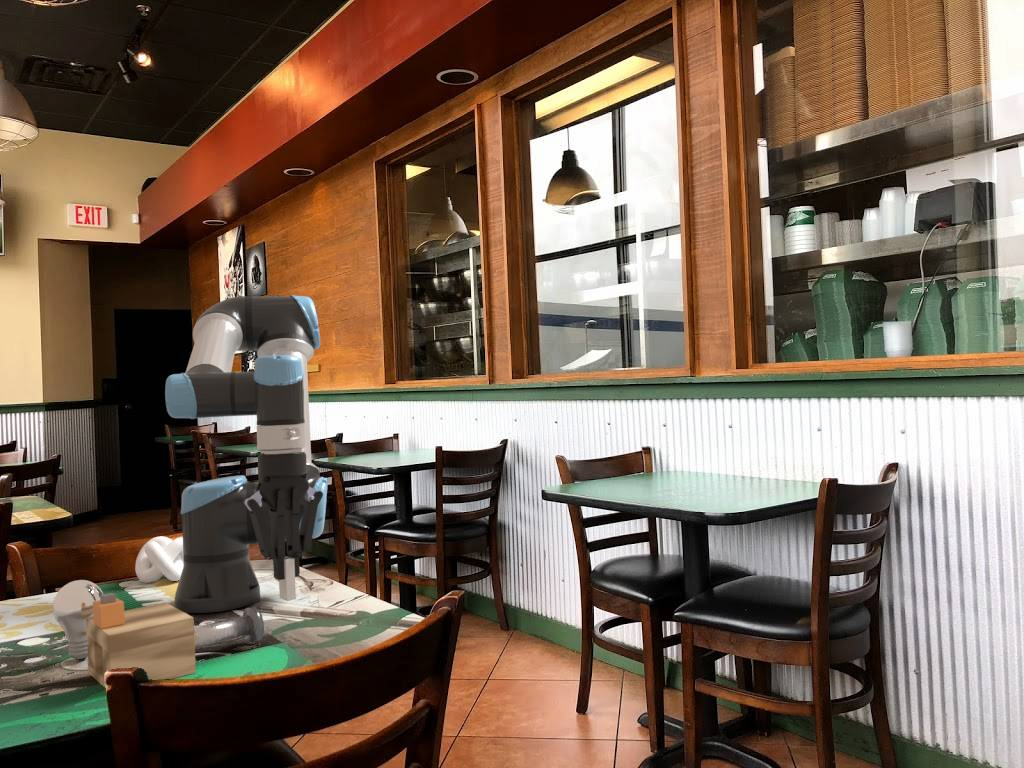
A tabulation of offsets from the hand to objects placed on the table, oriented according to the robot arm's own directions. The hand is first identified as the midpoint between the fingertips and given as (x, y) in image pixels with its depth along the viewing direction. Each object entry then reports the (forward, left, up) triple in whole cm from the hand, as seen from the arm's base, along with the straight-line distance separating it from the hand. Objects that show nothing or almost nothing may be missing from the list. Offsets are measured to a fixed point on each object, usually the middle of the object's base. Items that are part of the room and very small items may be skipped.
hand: (287, 598), depth 130 cm
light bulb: (-13, -27, -6) cm, 31 cm away
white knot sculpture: (-59, -1, -6) cm, 60 cm away
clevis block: (0, -22, -6) cm, 23 cm away
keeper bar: (0, -26, +2) cm, 26 cm away
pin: (0, -12, -6) cm, 14 cm away
